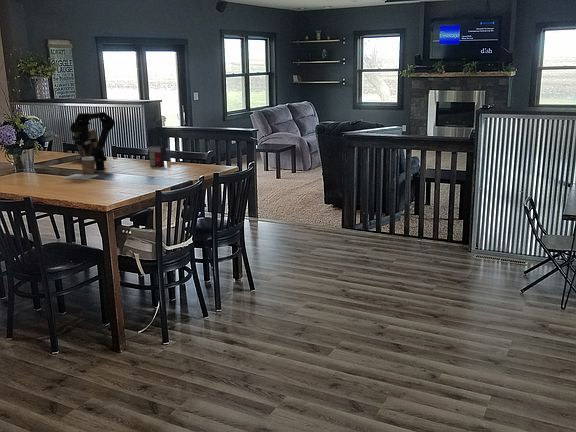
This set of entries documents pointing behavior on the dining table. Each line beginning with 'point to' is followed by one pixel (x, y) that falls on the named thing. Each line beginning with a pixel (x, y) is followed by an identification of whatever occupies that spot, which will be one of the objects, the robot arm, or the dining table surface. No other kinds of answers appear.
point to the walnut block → (88, 165)
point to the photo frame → (93, 145)
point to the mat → (80, 176)
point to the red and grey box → (156, 156)
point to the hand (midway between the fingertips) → (86, 153)
